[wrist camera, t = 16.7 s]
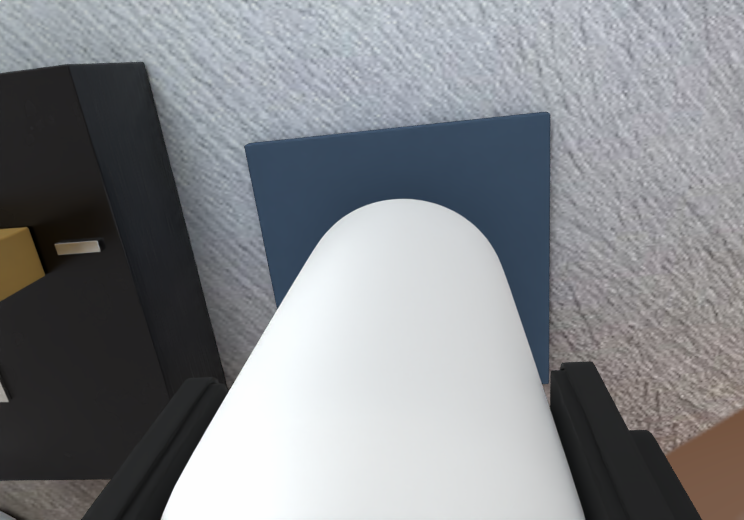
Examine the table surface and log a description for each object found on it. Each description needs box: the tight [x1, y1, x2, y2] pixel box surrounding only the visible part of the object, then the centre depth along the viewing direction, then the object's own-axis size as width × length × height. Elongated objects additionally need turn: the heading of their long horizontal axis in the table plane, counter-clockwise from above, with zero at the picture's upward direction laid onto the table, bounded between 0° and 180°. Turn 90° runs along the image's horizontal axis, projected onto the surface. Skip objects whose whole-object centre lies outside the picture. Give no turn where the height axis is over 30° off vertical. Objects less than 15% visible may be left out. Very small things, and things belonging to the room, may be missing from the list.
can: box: [161, 199, 586, 520], centre depth 12 cm, size 6×6×12 cm
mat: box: [245, 112, 550, 384], centre depth 19 cm, size 10×10×1 cm
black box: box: [0, 62, 228, 481], centre depth 19 cm, size 14×11×4 cm
